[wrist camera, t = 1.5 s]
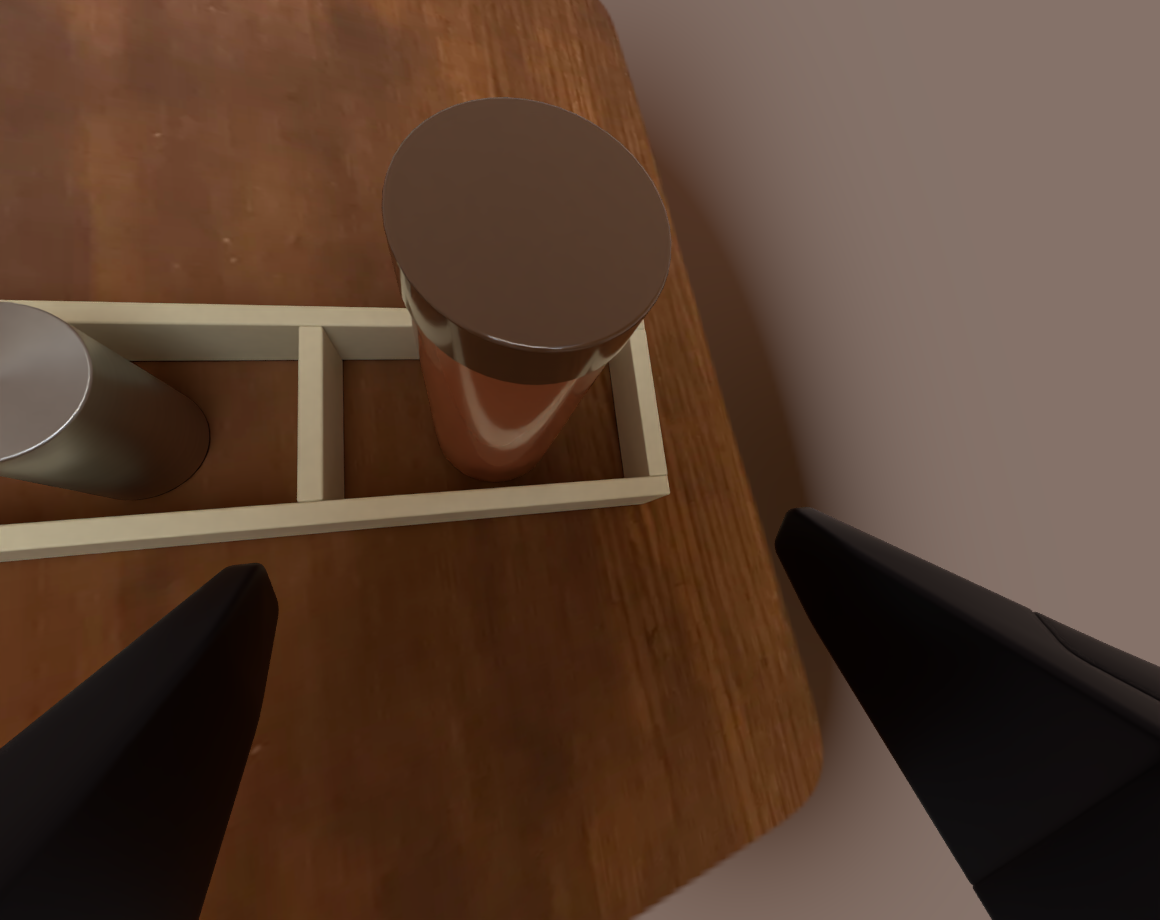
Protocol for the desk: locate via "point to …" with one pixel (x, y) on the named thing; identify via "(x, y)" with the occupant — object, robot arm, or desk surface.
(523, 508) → the spice rack
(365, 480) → the desk surface
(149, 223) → the desk surface
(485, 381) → the spice jar
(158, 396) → the cylinder
